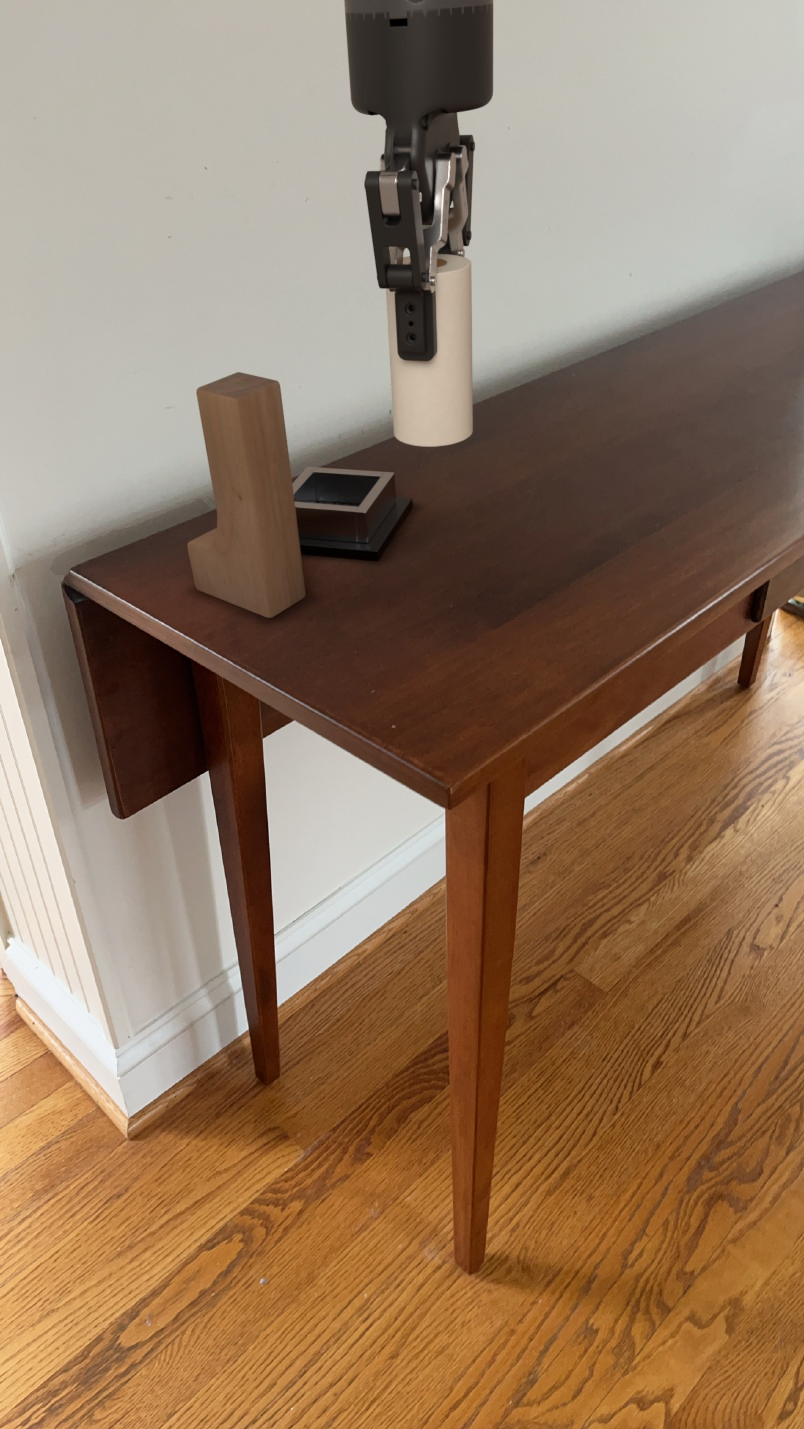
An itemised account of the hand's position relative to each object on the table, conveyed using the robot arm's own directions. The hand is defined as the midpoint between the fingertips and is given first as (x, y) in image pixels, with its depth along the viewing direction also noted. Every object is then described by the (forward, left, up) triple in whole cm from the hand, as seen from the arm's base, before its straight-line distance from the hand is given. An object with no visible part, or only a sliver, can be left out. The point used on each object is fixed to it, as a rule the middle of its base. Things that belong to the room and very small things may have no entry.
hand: (430, 343), depth 61 cm
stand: (-15, +20, -23) cm, 34 cm away
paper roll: (0, 0, -5) cm, 5 cm away
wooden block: (-18, +7, -23) cm, 31 cm away
